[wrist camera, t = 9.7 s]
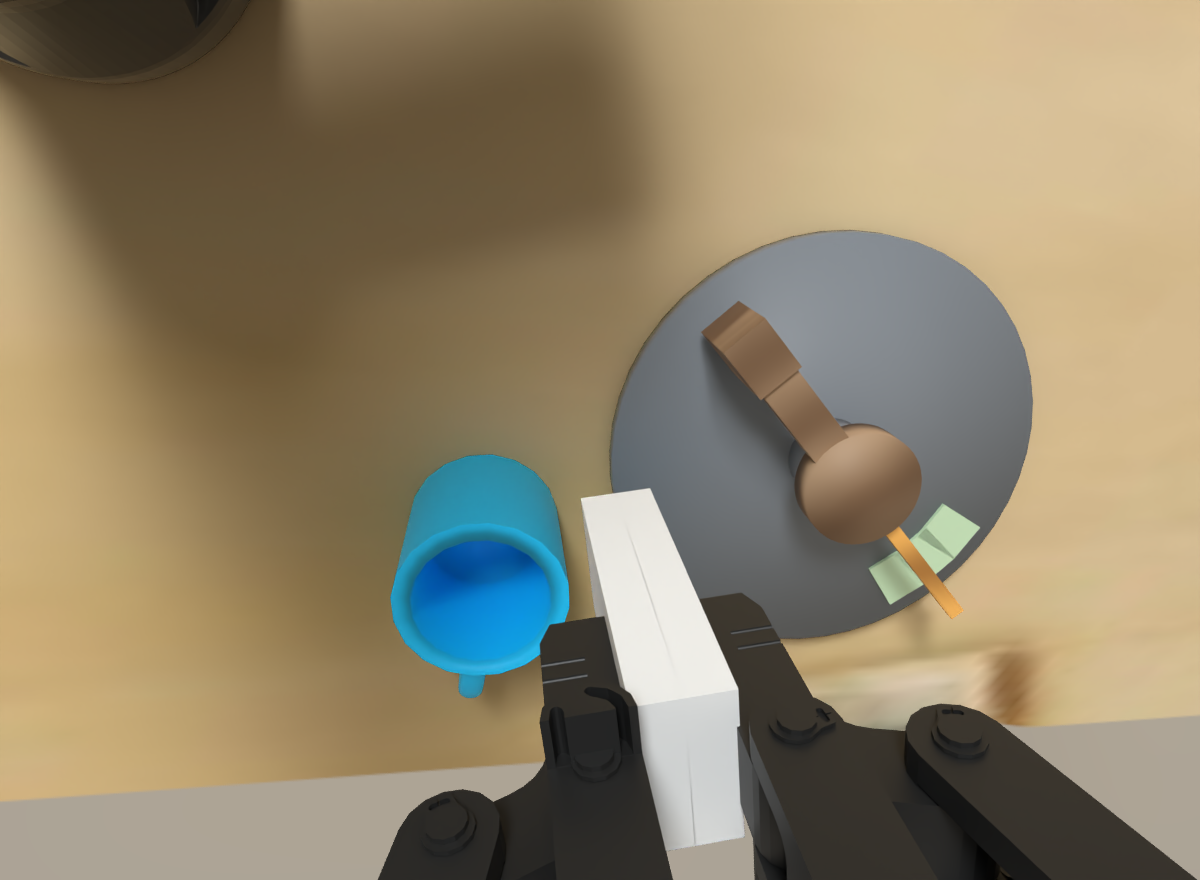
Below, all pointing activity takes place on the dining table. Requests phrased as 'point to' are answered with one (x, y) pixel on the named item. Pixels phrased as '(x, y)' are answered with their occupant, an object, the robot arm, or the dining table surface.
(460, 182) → the dining table surface
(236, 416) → the dining table surface
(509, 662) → the mug
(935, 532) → the dial plate
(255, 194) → the dining table surface
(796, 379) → the dial arm
